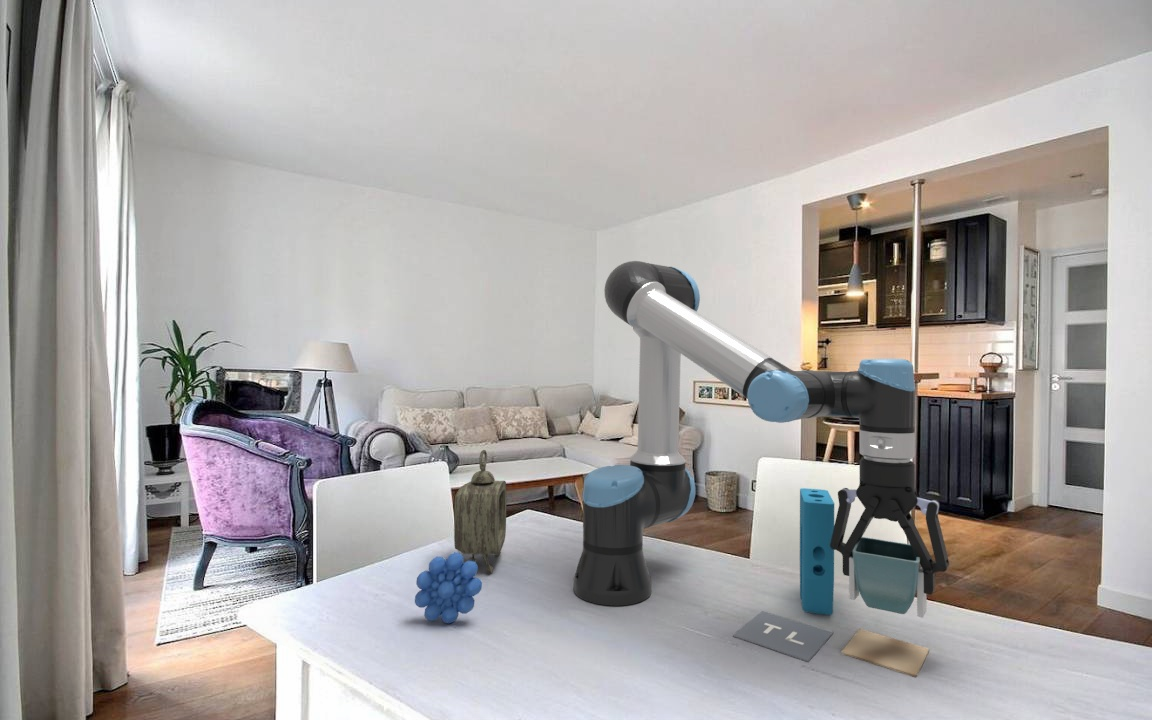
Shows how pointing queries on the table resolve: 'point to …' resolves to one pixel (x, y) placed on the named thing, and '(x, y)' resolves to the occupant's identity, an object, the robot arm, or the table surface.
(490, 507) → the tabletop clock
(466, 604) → the blue ball flower
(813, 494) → the block
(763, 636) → the tile
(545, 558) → the table surface
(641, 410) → the robot arm
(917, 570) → the flower pot
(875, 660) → the cork mat
